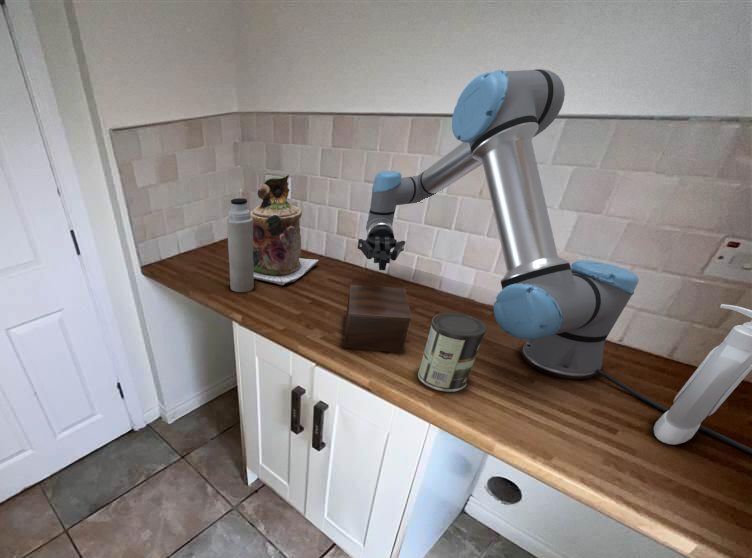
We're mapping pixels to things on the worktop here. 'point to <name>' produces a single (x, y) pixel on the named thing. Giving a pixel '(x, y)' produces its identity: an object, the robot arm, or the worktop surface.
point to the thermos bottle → (240, 246)
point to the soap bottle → (709, 384)
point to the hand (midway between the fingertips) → (383, 264)
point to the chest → (375, 333)
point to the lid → (378, 303)
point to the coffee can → (451, 351)
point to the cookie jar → (277, 236)
